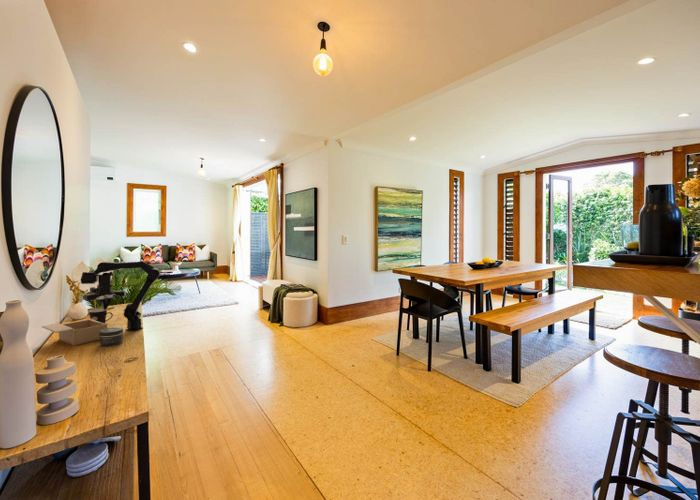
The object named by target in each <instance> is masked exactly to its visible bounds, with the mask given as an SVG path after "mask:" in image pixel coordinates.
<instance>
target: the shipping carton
mask: <svg viewBox="0 0 700 500" xmlns="http://www.w3.org/2000/svg"><path fill="white" fill-rule="evenodd" d="M61 324H62V325H65V326H68V327H71V328H73V329H74V330H68V331H63V332H58V340H59V341H61V342H64V343H65V344H68V345H71V346H73V347H77V346H79V345H84V344H85V345H86V344H88V343H92V342H97V341H100V338H99V332H100V331H101V330H103V329H106V328H108V324H107V323H106V322H105V323H102V322H99V321H95V320H92V319H90V318H89V319H83V320H78V321H73V322H67V323H61Z"/></svg>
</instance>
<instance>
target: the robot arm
mask: <svg viewBox="0 0 700 500" xmlns="http://www.w3.org/2000/svg"><path fill="white" fill-rule="evenodd" d="M138 268H139V269H142V270H143V272H145V273H146V274H147V276H146V279H145V282H144V283H143V286H141V288H140V290H139V291H138V293H137V295H136V296H135V297H134V299H133V301H132V302H128V303H126V304H127V305H126V306H125V308H124V309H123V316H124V317H125V318H126V319H127V321H126V322H127V323H126V325H127V328H126V329H125V331H127V332H128V331H131V332H135V331H139V330H141V329H142V330H143V328H142V327H143V326H142V318H141V316H142V313H141V312H139V311H138V310H139V308H140V305H141V303H142V302H143V300H144V298H145V297H146V294H147V293H148V291H149V290H150V288H151V286H152V285H153V283H154V282H155V281H156V280H157V279H158V278H159V277H160V276H161V273H162V271H161V270H160V268H157V267H156V268H155V267H154V266H153V265H150V264H149V263H148V262H146V261H145V260H139V261H128V262H127V261H125V262H114V261H102V262H99V263H98V265H97V266H96V269H95V270H94V271H83V272H82V274H81V277H80V283H81V284H82V285H91V284H92V285H93V284H94V285H95V284H96V283H97V282H98V283H97V285H96V287H95V286H93V287H92V286H91V287H89V293H85V294H84V295H83V296H82V300H83V301H95V300H97V301H98V302H99V303H100V305H101V309H103V310H106V309H107V310H108V307H109V305H110V303H111V302H112V300H114V299H115V297H114V296H118V297H124V296H126V293H125V291H124V290H113V291H112V286H113V284H112V276H115V275H116V274H115V273H114V272H113V271H115V270H123V269H124V270H125V269H138ZM101 273H102V274H101Z"/></svg>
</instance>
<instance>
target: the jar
mask: <svg viewBox="0 0 700 500" xmlns="http://www.w3.org/2000/svg"><path fill="white" fill-rule="evenodd" d="M99 338H100V340H99V345H100V346H101V347H104V348H106V347H107V348H108V347H109V346H110V347H114V346H115V347H116V346H119V345H120V344H122V343H123V340H124V328H123V327H121V326H113V327H107V328H106V329H103V330H101V331H100V332H99ZM118 344H119V345H118Z"/></svg>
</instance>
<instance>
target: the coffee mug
mask: <svg viewBox="0 0 700 500" xmlns="http://www.w3.org/2000/svg"><path fill="white" fill-rule="evenodd" d="M88 313H89V319H92V320H95V321H99V322H102V323H105V324H106V322H108V321H109V320H111V319H112V318H113V313H112V312H110V311H108V308H107V309H106V310H103V308H95V309H90V310H89V311H88ZM108 314H111V316H110V318H108V319H107V315H108Z"/></svg>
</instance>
